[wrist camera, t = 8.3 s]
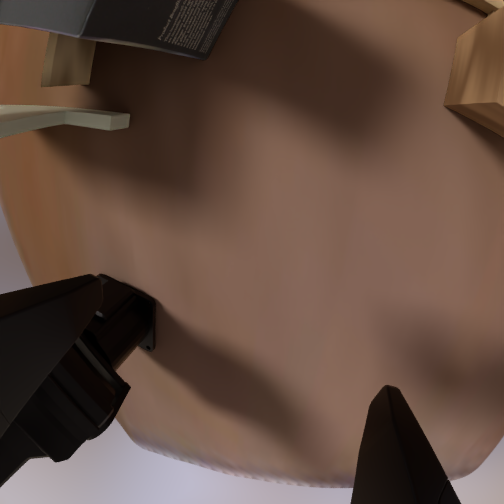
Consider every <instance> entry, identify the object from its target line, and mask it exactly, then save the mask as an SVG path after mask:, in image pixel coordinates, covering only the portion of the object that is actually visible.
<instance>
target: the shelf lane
mask: <svg viewBox="0 0 504 504" xmlns="http://www.w3.org/2000/svg"><path fill="white" fill-rule="evenodd" d="M129 120H130V114H127V113H119V112H111V111H103V110H93V109H83V108H71V107H56V106H37V105H0V138H3V137H7V136H10V135H14V134H18V133H23V132H27V131H31V130H36V129H41V128H45V127H50V126H56V125H61V124H70V125H77V126H84V127H90V128H96V129H103V130H109V131H111V130H117V129H123V128H129Z"/></svg>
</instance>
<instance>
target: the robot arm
mask: <svg viewBox="0 0 504 504" xmlns="http://www.w3.org/2000/svg"><path fill="white" fill-rule="evenodd" d="M155 305H156V304H155V301H154V300H153V299H152V298H151V297H149V296H147V295H145V294H142V293H140V292H138V291H136V290H134V289H132V288H130V287H128V286H126V285H123V284H121V283H119V282H117V281H115V280H113V279H111V278H109V277H107V276H105V275H103V274H99V275H97V276H94V275H92V274H87V275H83V276H78V277H74V278H69V279H65V280H61V281H56V282H52V283H47V284H43V285H39V286H34V287H31V288H26V289H22V290H17V291H13V292H9V293H5V294H0V487H1V486H2V485H3V484H4V483H5V482H6V481H7V480H8V479H9V478H10V477H11V476H12V475H13V474H14V473H15V472H16V471H18V470H19V468H21V466H23V465H24V464H25V463H26V462H27V461H28V460H29V459H33V458H43V457H50V458H51V459H52V460H53V461H54V462H60V461H64V460H67V459H69V458H70V457H71V456H72V455H73V454H74V452H75V451H76V450H77V449H78V448H79V447H80V446H81V445H82V444H83V443H84V442H85V441H86V440H91V439H94V438H96V437H97V436H99V435H100V434H101V433H103V432H104V431H105V430H106V429H107V428H108V427H109V425H110V424H111V423H112V421H113V420H114V418H115V416H116V414H117V412H118V410H119V409H120V407H121V405H122V403H123V401H124V399H125V397H126V396H127V394H128V392H129V390H130V388H131V387H130V385H129V384H128V383H127V382H124V380H123V379H122V378H121V377H120V376H119V375H118V374H117V373H116V370H117V369H118V368H119V367H120V365H121V364H122V363H123V362H124V361H125V360H126V359H127V358H128V356H129V355H130V354H131V353H132V352H133V351H134V350H135V349H136V347H137V346H140V347H141V348H143V349H145V350H147V351H150V352H152V351H153V350H154V349H155ZM447 479H448V477H447V475H446V473H445V472H444V470H443V468H442V466H441V464H440V462H439V460H438V458H437V456H436V454H435V452H434V451H433V449H432V447H431V445H430V443H429V441H428V439H427V438H426V436H425V434H424V432H423V430H422V428H421V427H420V425H419V423H418V421H417V420H416V418H415V416H414V414H413V412H412V411H411V409H410V407H409V405H408V404H407V402H406V400H405V398H404V397H403V395H402V393H401V392H400V390H399V389H398V388H397V387H394V386H390V385H385V386H384V387H383V388H382V389H381V390H380V391H379V393H378V394H377V395H376V397H375V398H374V399H373V400H372V402H371V404H370V406H369V410H368V415H367V419H366V424H365V428H364V433H363V437H362V441H361V445H360V450H359V455H358V462H357V469H356V475H355V481H354V487H353V493H352V499H351V504H461V503H460V501H459V499H458V497H457V495H456V493H455V491H454V489H453V487H452V485H451V483H450V481H449V480H447Z"/></svg>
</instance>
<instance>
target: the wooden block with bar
mask: <svg viewBox="0 0 504 504" xmlns="http://www.w3.org/2000/svg"><path fill="white" fill-rule="evenodd" d="M462 1H464V2H466V3H468V4H470V5H472V6H474V7H476V8H478V9H480V10H481V11H483V12H485V13H487V14H488V17H487V18H485V19H484V20H482V21H481V22H479V23H478V24H476V25H475V26H474V27H472V28H471V29H469V30H468V31H466V32H465V33H464V34H462V35H461V36H459V37H458V38H457V44H456V50H455V55H454V61H453V66H452V71H451V75H450V80H449V85H448V89H447V93H446V97H445V102H444V106H445V107H447V108H449V109H451V110H453V111H456V112H458V113H460V114H462V115H464V116H466V117H467V118H469V119H471V120H473V121H475V122H477V123H479V124H481V125H482V126H484V127H486V128H488V129H490V130H491V131H493V132H495V133H497V134H498V135H500V136H502V137H503V138H504V1H502V0H462ZM96 42H97V41H94V40H88V39H81V38H76V37H71V36H67V35H62V34H57V33H53V32H50V34H49V39H48V44H47V49H46V55H45V61H44V67H43V74H42V82H41V87H52V86H67V85H89V82H90V75H91V69H92V63H93V57H94V52H95V47H96Z"/></svg>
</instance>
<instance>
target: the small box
mask: <svg viewBox="0 0 504 504" xmlns="http://www.w3.org/2000/svg"><path fill="white" fill-rule="evenodd" d="M237 2H238V0H0V24H4V25H12V26H19V27H25V28H31V29H37V30H42V31H47V32H53V33H57V34H62V35H67V36H71V37H76V38H81V39H88V40H94V41H101V42H108V43H115V44H123V45H129V46H135V47H141V48H146V49H152V50H157V51H162V52H167V53H172V54H177V55H181V56H186V57H191V58H196V59H200V60H206V59H207V57H208V56H209V54H210V52H211V50H212V48H213V46H214V44H215V42H216V40H217V38H218V36H219V34H220V33H221V31H222V29H223V27H224V25H225V23H226V22H227V20H228V18H229V16H230V14H231V12H232V11H233V9H234V7H235V5H236V3H237Z"/></svg>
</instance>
